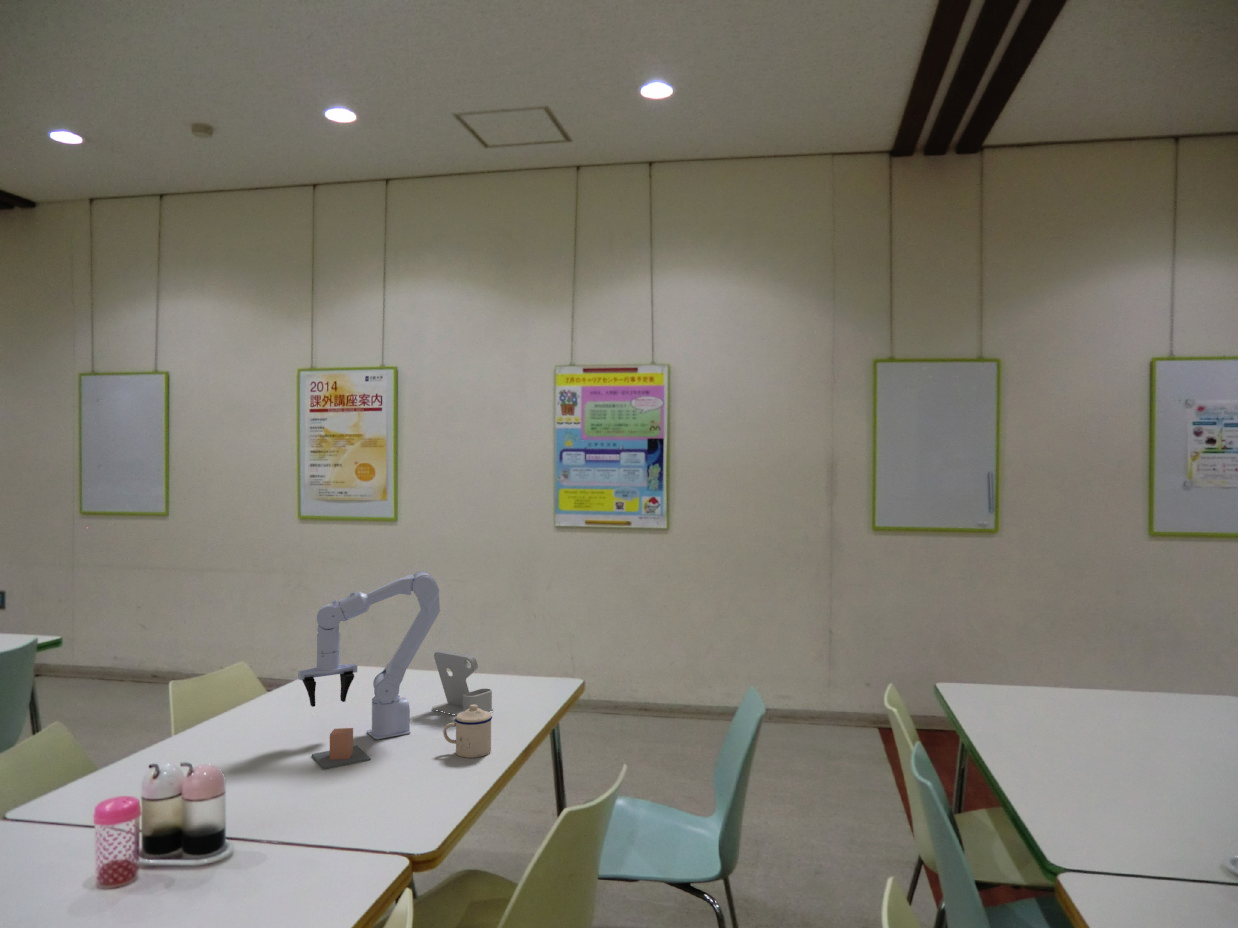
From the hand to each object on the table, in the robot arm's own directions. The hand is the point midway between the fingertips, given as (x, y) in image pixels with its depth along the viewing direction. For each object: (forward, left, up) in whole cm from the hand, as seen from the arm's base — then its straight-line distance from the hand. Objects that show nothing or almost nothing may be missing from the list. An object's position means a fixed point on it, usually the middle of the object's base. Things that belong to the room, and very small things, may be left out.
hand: (328, 703), depth 204 cm
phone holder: (-40, -4, -10) cm, 41 cm away
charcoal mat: (+1, +16, -9) cm, 19 cm away
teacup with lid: (-26, +30, -10) cm, 41 cm away
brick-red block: (+1, +16, -9) cm, 18 cm away
